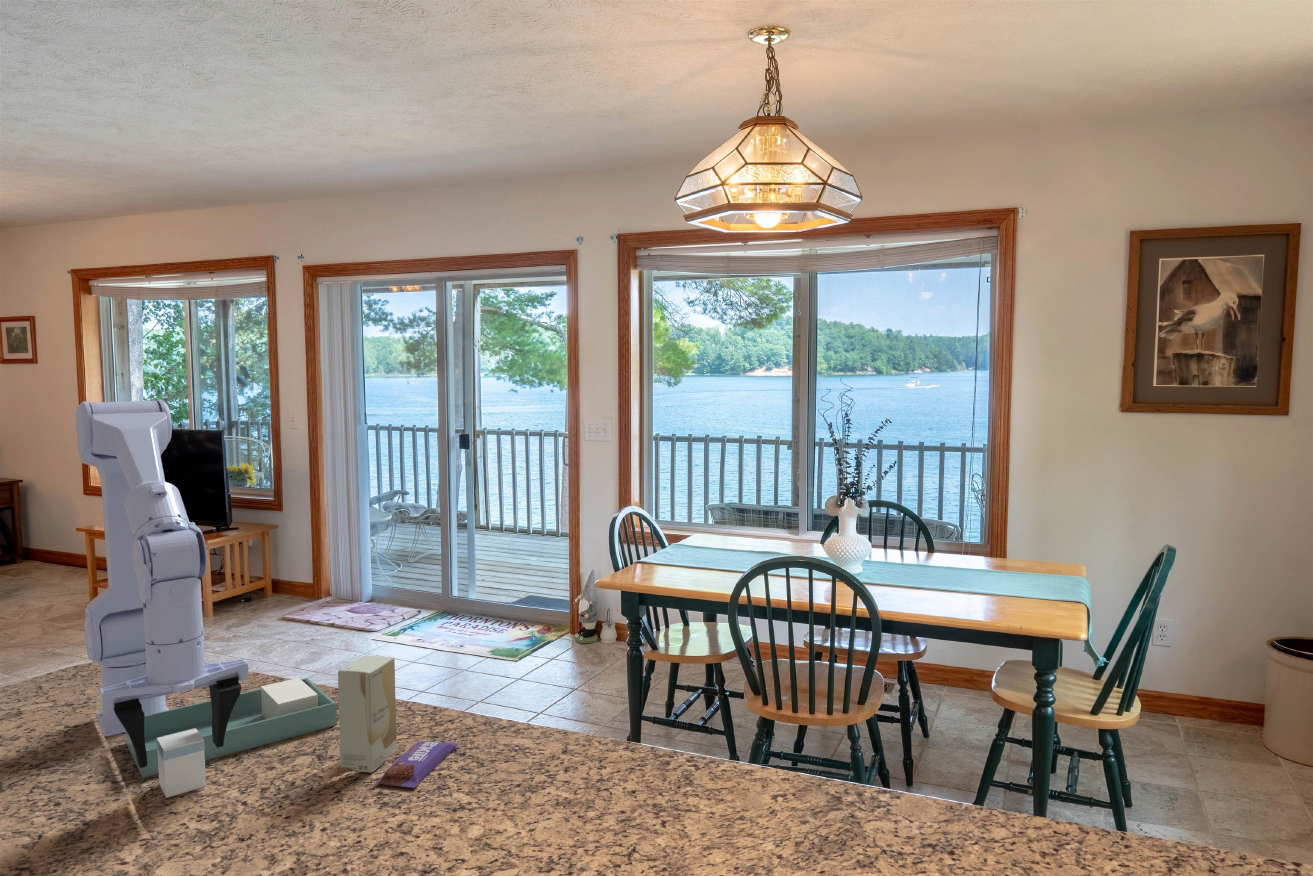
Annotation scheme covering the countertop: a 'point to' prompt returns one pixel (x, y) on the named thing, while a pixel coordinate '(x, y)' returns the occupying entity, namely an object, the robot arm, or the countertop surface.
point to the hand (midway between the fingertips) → (181, 754)
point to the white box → (287, 698)
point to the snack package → (416, 764)
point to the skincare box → (367, 713)
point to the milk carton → (181, 762)
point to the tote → (234, 725)
